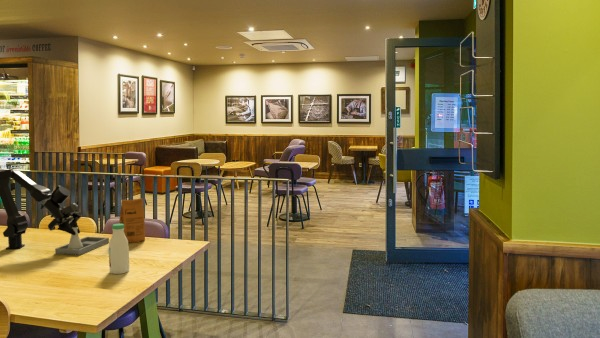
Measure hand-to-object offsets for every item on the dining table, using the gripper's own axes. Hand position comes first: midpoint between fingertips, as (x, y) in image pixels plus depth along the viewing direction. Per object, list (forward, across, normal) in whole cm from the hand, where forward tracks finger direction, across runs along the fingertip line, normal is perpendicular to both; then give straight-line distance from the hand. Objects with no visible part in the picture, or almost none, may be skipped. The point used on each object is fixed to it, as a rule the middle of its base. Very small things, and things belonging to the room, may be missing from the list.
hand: (77, 233), depth 229 cm
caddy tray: (+5, +6, +7) cm, 10 cm away
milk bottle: (+32, -24, -20) cm, 44 cm away
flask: (+4, 0, +6) cm, 8 cm away
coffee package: (+16, +24, -4) cm, 29 cm away
